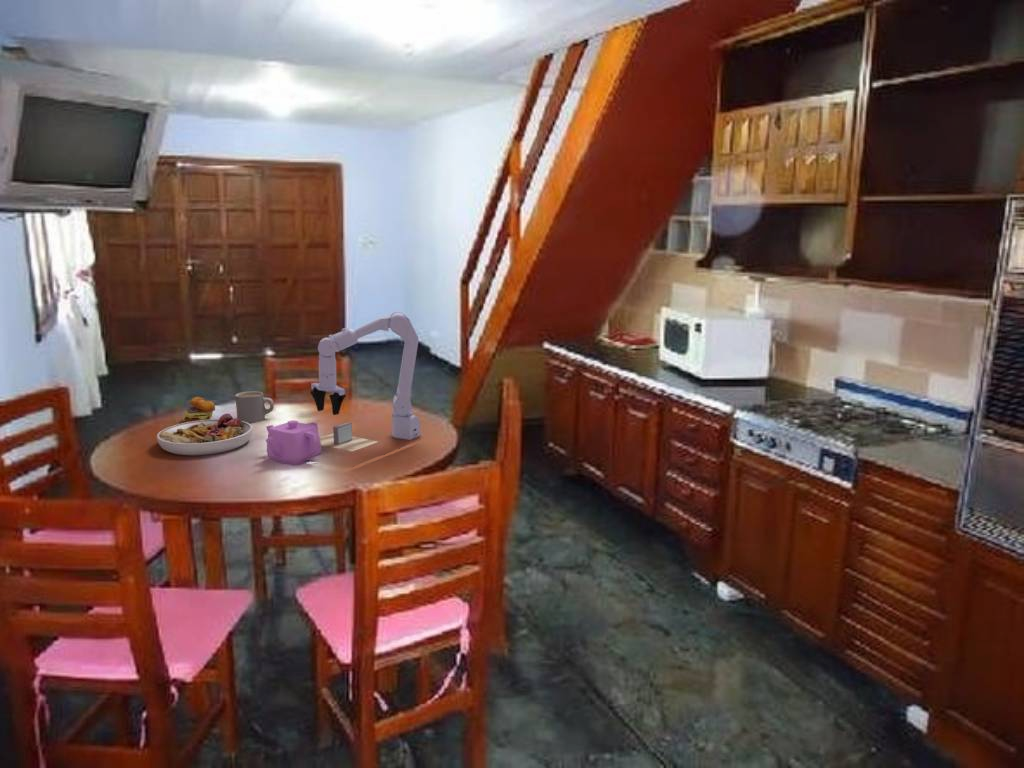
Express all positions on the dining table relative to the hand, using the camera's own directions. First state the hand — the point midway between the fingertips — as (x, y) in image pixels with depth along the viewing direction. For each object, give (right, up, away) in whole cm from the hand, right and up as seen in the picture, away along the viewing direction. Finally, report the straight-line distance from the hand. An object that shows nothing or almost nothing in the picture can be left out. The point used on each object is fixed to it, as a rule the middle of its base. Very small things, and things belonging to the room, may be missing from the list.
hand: (328, 412), depth 255 cm
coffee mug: (-35, -4, +30) cm, 46 cm away
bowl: (-41, -11, -1) cm, 43 cm away
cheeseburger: (-56, -4, +28) cm, 63 cm away
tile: (+6, -10, -2) cm, 12 cm away
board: (+5, -11, -1) cm, 12 cm away
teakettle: (-8, -14, -15) cm, 22 cm away
